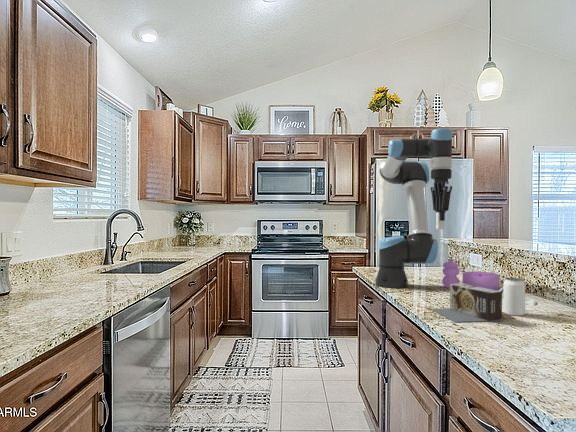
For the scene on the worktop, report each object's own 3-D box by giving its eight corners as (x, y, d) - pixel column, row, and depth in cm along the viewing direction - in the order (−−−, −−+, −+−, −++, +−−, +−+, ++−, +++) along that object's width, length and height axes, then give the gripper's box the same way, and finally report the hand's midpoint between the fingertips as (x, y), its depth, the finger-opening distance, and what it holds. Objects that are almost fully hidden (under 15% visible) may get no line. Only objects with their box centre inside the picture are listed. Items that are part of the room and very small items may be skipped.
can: (505, 310, 135) (505, 276, 135) (526, 313, 131) (526, 278, 131) (501, 314, 130) (501, 279, 130) (523, 317, 126) (523, 281, 126)
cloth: (547, 307, 142) (547, 291, 142) (497, 307, 142) (497, 291, 142) (512, 294, 164) (512, 280, 164) (469, 294, 164) (469, 280, 164)
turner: (477, 307, 139) (477, 304, 139) (486, 307, 139) (486, 304, 139) (504, 319, 124) (504, 316, 124) (514, 319, 124) (514, 315, 124)
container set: (489, 284, 184) (489, 257, 184) (505, 291, 169) (506, 261, 169) (437, 284, 186) (437, 257, 185) (448, 290, 170) (448, 261, 170)
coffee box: (449, 284, 136) (488, 292, 121) (462, 282, 138) (502, 290, 123) (449, 309, 136) (488, 321, 121) (462, 307, 138) (503, 318, 123)
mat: (431, 309, 136) (431, 308, 136) (473, 308, 138) (473, 307, 138) (455, 322, 120) (455, 321, 120) (502, 321, 122) (502, 320, 122)
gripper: (424, 170, 155) (423, 227, 156) (440, 167, 142) (439, 230, 143) (442, 170, 156) (441, 227, 156) (459, 167, 143) (458, 230, 143)
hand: (440, 228), depth 150 cm, fingers closed
